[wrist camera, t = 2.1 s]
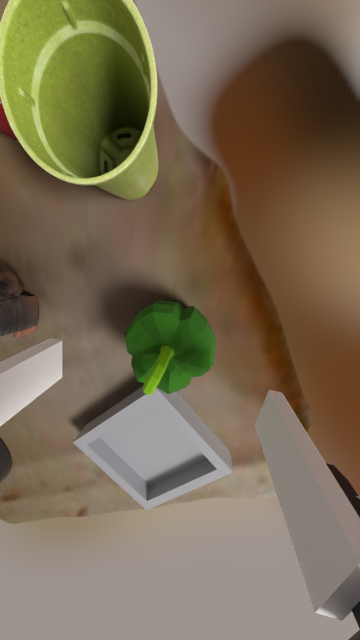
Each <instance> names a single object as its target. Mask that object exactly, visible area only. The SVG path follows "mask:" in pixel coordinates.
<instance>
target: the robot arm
mask: <svg viewBox="0 0 360 640" xmlns="http://www.w3.org/2000/svg"><path fill="white" fill-rule="evenodd" d="M61 378H62V341H61V340H57V339H52V338H50V339H48V340H46V341H44V342H42V343H40V344H37V345H35V346H33V347H31V348H29V349H27V350H25V351H23V352H21V353H19V354H16V355H14V356H12V357H10V358H8V359H6V360H4V361H2V362H0V426H1V425H3V424H4V423H5V422H6V421H8V420H9V419H10V418H11V417H13V416H14V415H15V414H17V413H18V412H19V411H20V410H22V409H23V408H24V407H25V406H27V405H28V404H29V403H30V402H32V401H33V400H34V399H35V398H37V397H38V396H39V395H40V394H42V393H43V392H44V391H46V390H47V389H48V388H49V387H51V386H52V385H53V384H54V383H56V382H57V381H58V380H59V379H61ZM255 428H256V431H257V434H258V437H259V440H260V443H261V447H262V450H263V453H264V456H265V459H266V462H267V465H268V468H269V471H270V474H271V477H272V480H273V484H274V487H275V490H276V493H277V496H278V499H279V502H280V505H281V508H282V511H283V514H284V517H285V521H286V524H287V527H288V530H289V533H290V536H291V539H292V542H293V545H294V548H295V551H296V554H297V557H298V561H299V564H300V567H301V570H302V573H303V576H304V579H305V582H306V585H307V588H308V591H309V595H310V598H311V601H312V604H313V607H314V610H315V612H316V613H319V614H322V615H325V616H329V617H332V618H335V619H338V620H343V619H344V618H345V617H346V616H347V615H348V614H349V613H350V612H351V611H352V612H353V614H354V616H355V619H356V621H357V623H358V626H359V628H360V499H359V496H358V494H357V493H356V491H355V490H354V489H353V487H352V486H351V484H350V483H349V481H348V480H347V479H346V478H345V477H344V476H343V475H342V473H340V471H339V470H338V469H337V468H336V467H335V466H334V465H330V464H326V463H325V461H324V460H323V458H322V456H321V455H320V453H319V452H318V450H317V449H316V447H315V445H314V444H313V442H312V440H311V439H310V437H309V436H308V434H307V432H306V431H305V429H304V428H303V426H302V424H301V423H300V421H299V419H298V418H297V416H296V415H295V413H294V411H293V410H292V408H291V407H290V405H289V403H288V402H287V400H286V399H285V397H284V395H283V394H282V393H280V392H276V391H271V390H269V391H268V394H267V396H266V399H265V401H264V404H263V406H262V409H261V411H260V413H259V416H258V418H257V421H256V423H255ZM11 465H12V462H11V457H10V454H9V452H8V450H7V448H6V447H5V445H4V444H3V442H2V441H1V440H0V483H1V482H2V480H3V479H4V478H5V477H6V476H7V475H8V474H9V472H10V470H11ZM349 640H360V630H359V631H358V632H357V633H356V634H354V635H353V636H352V637H351V638H350V639H349Z"/></svg>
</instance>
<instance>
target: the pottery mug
mask: <svg viewBox="0 0 360 640" xmlns="http://www.w3.org/2000/svg"><path fill="white" fill-rule="evenodd" d="M23 289H24V286H23V284H22V283H21V282H19V281H18V278H17V276H16V275H15V274H14V273H13V272H12V271H11V270H9V269H7V268H5V267H3V266H1V265H0V336H3V335H6V334H10V333H13V332H14V334H13V337H14V338H19V337H23V336H25V335H28V334H31V333H33V332H35V330H36V327H37V323H38V319H39V307H38V301H37V298H36V296H25V295H20V294H21V293H22V291H23Z"/></svg>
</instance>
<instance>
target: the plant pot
mask: <svg viewBox="0 0 360 640" xmlns="http://www.w3.org/2000/svg"><path fill="white" fill-rule="evenodd" d="M0 98H1V102H2V105H3V108H4V111H5V114H6V117H7V119H8V122H9V124H10V126H11V128H12V130H13V132H14V134H15V136H16V137H17V139H18V141H19V142H20V144H21V145H22V147H23V148H24V150H25V151H26V152H27V153H28V155H29V156H30V157H31V158H32V159H33V160H34V161H35V162H36V163H37V164H38V165H39V166H40V167H42V168H43V169H44V170H46V171H47V172H48V173H50V174H51V175H53V176H55V177H57V178H59V179H61V180H63V181H66V182H68V183H72V184H77V185H95V186H97V187H99V188H101V189H103V190H105V191H107V192H109V193H111V194H113V195H115V196H117V197H119V198H122V199H126V200H134V199H138V198H141V197H143V196H144V195H145V194H147V192H148V191H149V190H150V188H151V187H152V185H153V184H154V182H155V180H156V178H157V174H158V166H159V165H158V155H157V147H156V141H155V134H154V126H153V122H154V118H155V113H156V105H157V72H156V65H155V59H154V53H153V49H152V45H151V41H150V38H149V35H148V32H147V29H146V27H145V24H144V22H143V20H142V17H141V15H140V13H139V11H138V10H137V8H136V6H135V4H134V3H133V1H132V0H9V2H8V4H7V7H6V8H5V11H4V14H3V16H2V20H1V23H0ZM122 134H130V135H131V138H121V139H118V136H119V135H122ZM105 161H107V163H108V164H107V166H108V173H106V172H105V169H104V163H105Z"/></svg>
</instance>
